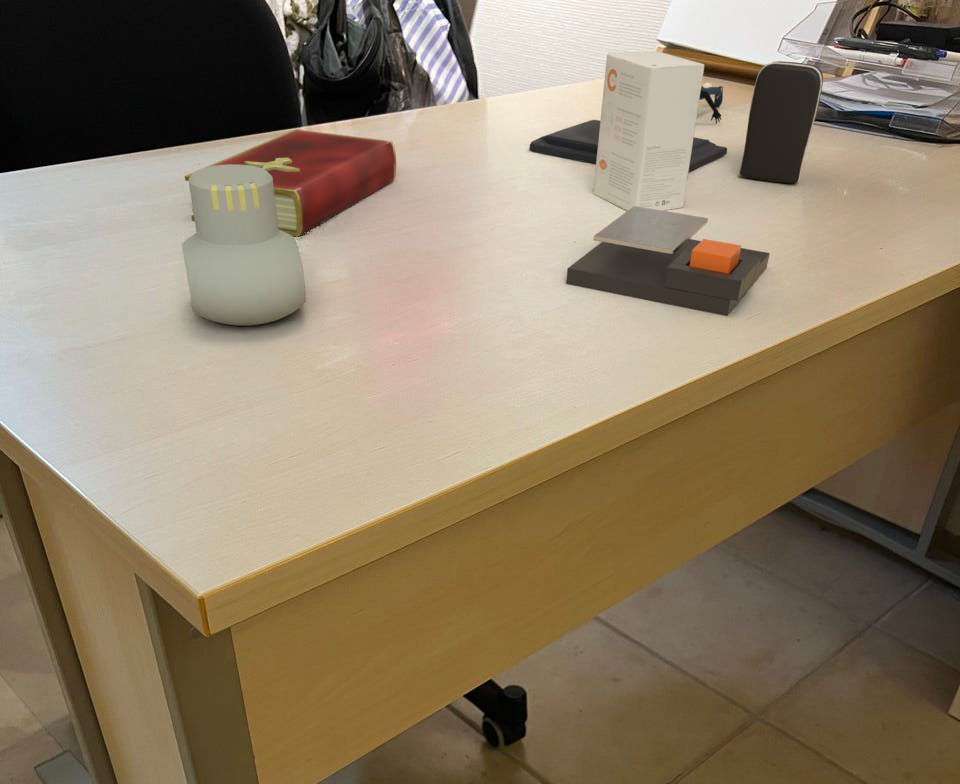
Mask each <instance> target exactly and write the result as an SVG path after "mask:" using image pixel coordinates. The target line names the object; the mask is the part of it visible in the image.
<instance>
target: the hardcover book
mask: <svg viewBox="0 0 960 784" xmlns="http://www.w3.org/2000/svg"><path fill="white" fill-rule="evenodd" d="M217 165H250V166H255V167H259V168H262V169H265V170H266V171H267V172H268V173H269V174H270V175H271V176H272V178H273V186H274V195H275V203H276V212H277V220H278V229H279V230H282V231H284V232H286V233H288V234H290V235H291V236H293V237H298V238H299V237H301V236H302V235H304V234H306V233H307V232H309V231H311V230H313V229H314V228H316V227H317V226H319V225H321V224H322V223H324V222H326V221H328V220H330V219H331V218H333V217H335V216H336V215H338V214H340V213H342V212H343V211H345V210H347V209H348V208H350V207H352V206H353V205H355V204H357V203H359V202H360V201H362V200H364V199H365V198H367V197H368V196H371V195H372V194H374V193H376V192H377V191H379V190H381V189H382V188H384V187H386V186H387V185H389V184H391V183H393V182H394V181H395V179H396V175H397V153H396V148H395V144H394V142H393V140H386V139H378V138H372V137H371V138H370V137H361V136H354V135H345V134H337V133H329V132H321V131H313V130H304V129H293V130H291V131H289V132H285V133H284V134H282V135H279V136H276V137H274V138H271V139H270V140H267V141H265V142H263V143H260V144H258V145H255V146H252V147H250V148H248V149H245V150H243V151H241V152H239V153H236V154H233V155H231V156H229V157H227V158H224V159H222V160H219V161H217V162H214V163H212V164H210V165H208V166H205V167H204V168H206V167H210V166H217ZM194 172H195V171H194ZM194 172H191V173H189V174H186V175H184V181H187V182H189V178H190V177H191V175H192V174H193V173H194ZM190 217H191V221H194V222H195V219H194V214H192V215H190Z"/></svg>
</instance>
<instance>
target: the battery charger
mask: <svg viewBox="0 0 960 784" xmlns="http://www.w3.org/2000/svg"><path fill="white" fill-rule="evenodd" d="M822 71H823V70H822V69H821V68H820V67H819V66H817V65H815V64H811V63H804V62H797V61H793V62H792V61H781V60H780V61H772V62H769V63H767V64H765V65H764V66H763V67H762V68H761V69H759V72H758V74H757V77H756V80H755V83H754V88H753V93H752V98H751V103H750V108H749V112H748V113H749V114H748V122H747V127H746V135H745V143H744V148H743V153H742V159H741V164H740V170H739V176H740V177H743V178H747V179H753V180H759V181H765V182H774V183H781V184H798V183H800V181H801V180H800V179H801V175H802V169H803V164H804V161H805V156H806V153H807V149H808V145H809V141H810V138H811V134H812V132H813V131H812V130H813V127H814V123H815V120H816V118H817V113H818V110H819V105H820V101H821V95H822V91H823V85H824V74H823V72H822Z"/></svg>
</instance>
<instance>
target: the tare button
mask: <svg viewBox="0 0 960 784" xmlns="http://www.w3.org/2000/svg"><path fill="white" fill-rule="evenodd" d="M700 241H701V242H700V243H699V244H698V245H697V246H696V247H695V248H694V249H693V250H692V254H691V260H690V266H691V267H697V268H702V269H708V270H713V271H718V272H724V273H729V274H730V272H731V271H732V270H733V269H734V268H735V267H736V266H737V265H738V261H739V256H740V251H741V248H742V245H741V244H735V243H730V242H723V241H717V240H712V239H706V238H703V239H702V240H700Z"/></svg>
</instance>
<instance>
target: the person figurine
mask: <svg viewBox="0 0 960 784" xmlns="http://www.w3.org/2000/svg"><path fill="white" fill-rule="evenodd" d="M713 95H714V100H713V98H712V96H713ZM723 99H724V86H722V85H720V86H713V84H712V83H710V82H706V83H703V85H701V92H700V98H699V101H703V100H705V102H706V103H707V104H708V106H709V107H710V109H711V110H712V112H713V113H712V115H711V118H710V120H711V121H713V119H714V120H715V124H718V123H721V120H722V114H721V113H720V111H719V110H718V108H720V106H721V105H722V104H723V101H724V100H723Z"/></svg>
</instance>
